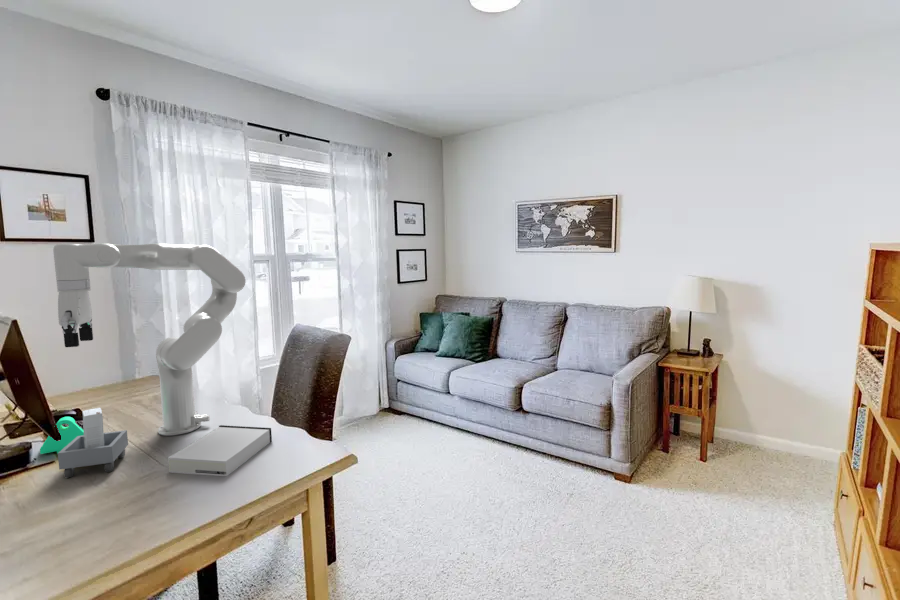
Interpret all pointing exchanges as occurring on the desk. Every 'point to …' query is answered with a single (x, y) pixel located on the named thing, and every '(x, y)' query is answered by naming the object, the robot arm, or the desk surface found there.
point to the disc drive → (220, 451)
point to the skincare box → (93, 428)
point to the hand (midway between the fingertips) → (79, 343)
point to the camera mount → (62, 436)
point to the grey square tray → (93, 453)
